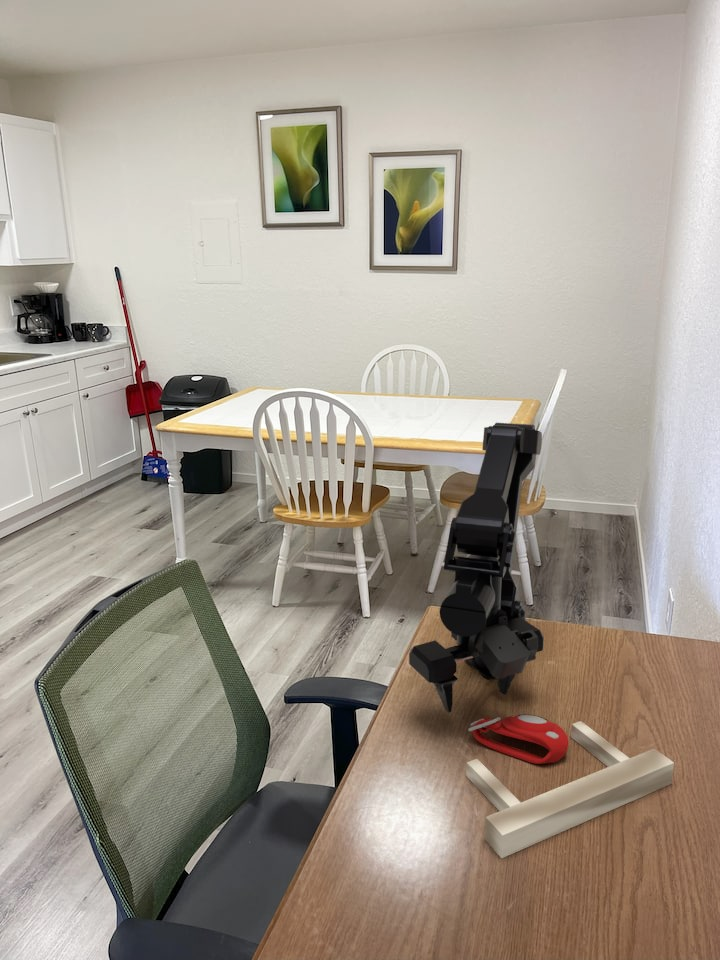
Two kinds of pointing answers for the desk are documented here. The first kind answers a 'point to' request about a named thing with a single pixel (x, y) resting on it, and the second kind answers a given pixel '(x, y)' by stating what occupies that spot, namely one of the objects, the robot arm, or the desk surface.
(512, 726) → the tracker holder
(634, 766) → the frame
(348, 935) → the desk surface
